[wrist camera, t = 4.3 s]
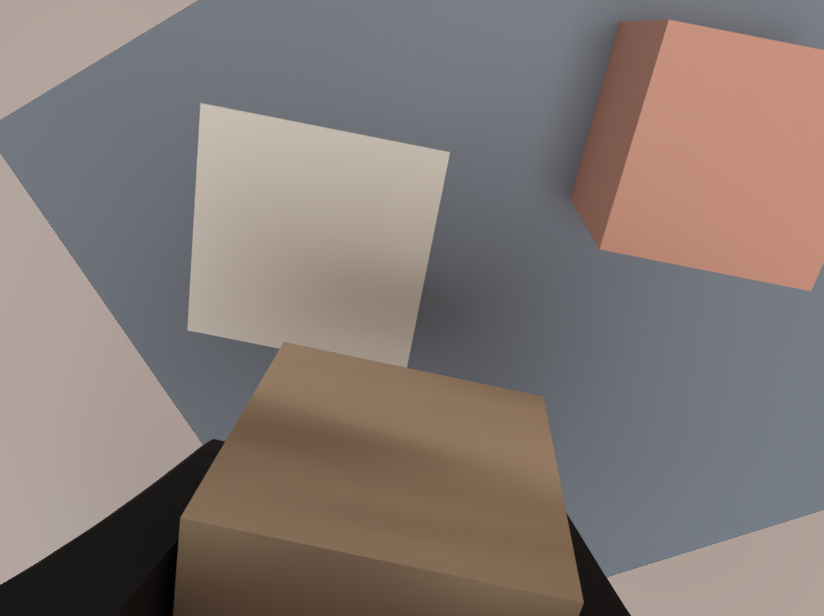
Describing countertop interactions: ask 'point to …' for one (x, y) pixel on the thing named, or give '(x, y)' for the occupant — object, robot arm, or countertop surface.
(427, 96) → the blue gray board
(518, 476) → the oak block
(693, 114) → the terracotta block
